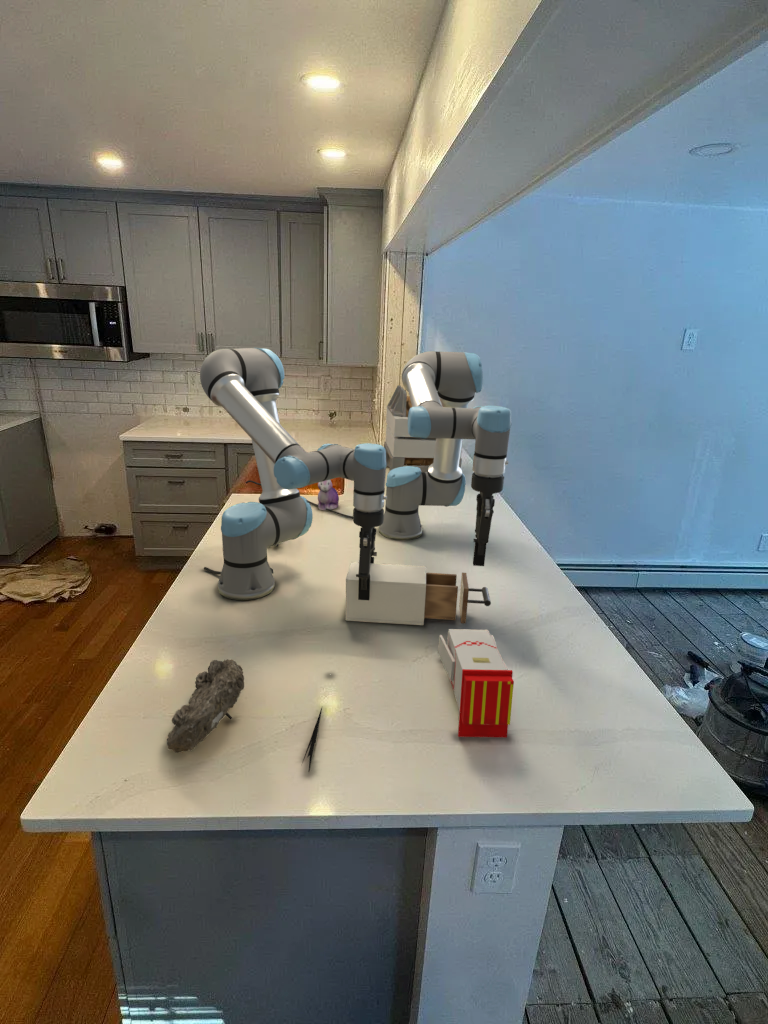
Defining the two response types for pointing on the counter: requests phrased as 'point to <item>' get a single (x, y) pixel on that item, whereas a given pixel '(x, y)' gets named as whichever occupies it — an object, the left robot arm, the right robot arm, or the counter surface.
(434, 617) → the drawer
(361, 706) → the counter surface
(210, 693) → the fossil
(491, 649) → the toy
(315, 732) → the feather
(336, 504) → the figurine
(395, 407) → the transformer
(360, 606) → the cabinet
